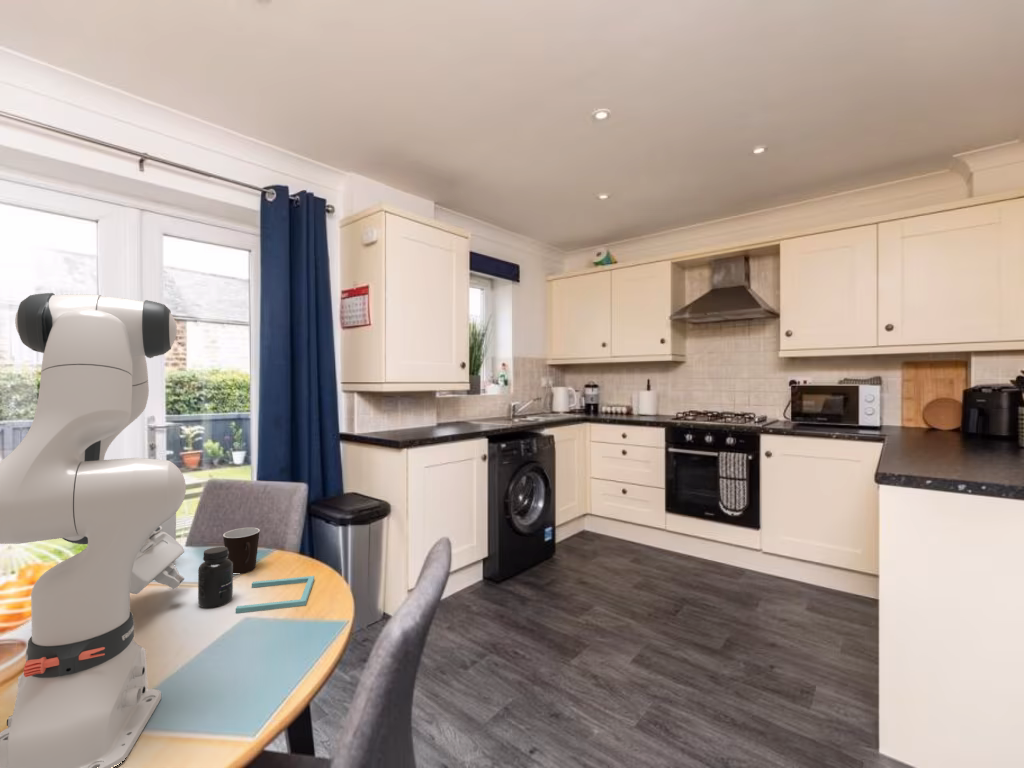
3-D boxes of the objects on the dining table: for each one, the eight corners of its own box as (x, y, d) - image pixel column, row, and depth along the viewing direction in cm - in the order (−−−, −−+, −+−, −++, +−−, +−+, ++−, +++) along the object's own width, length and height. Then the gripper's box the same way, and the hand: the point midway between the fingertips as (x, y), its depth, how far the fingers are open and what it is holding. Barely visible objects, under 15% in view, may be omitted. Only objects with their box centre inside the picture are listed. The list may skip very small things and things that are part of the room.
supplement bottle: (230, 605, 109) (229, 553, 109) (194, 611, 107) (194, 557, 107) (235, 593, 116) (234, 543, 116) (202, 598, 113) (201, 547, 113)
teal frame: (305, 605, 109) (305, 601, 109) (235, 613, 106) (235, 608, 106) (314, 579, 123) (314, 575, 123) (252, 585, 120) (252, 581, 120)
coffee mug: (228, 565, 133) (227, 529, 133) (262, 561, 135) (262, 526, 135) (215, 582, 122) (215, 543, 121) (254, 578, 124) (253, 539, 124)
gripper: (115, 550, 97) (171, 593, 100) (160, 521, 117) (206, 557, 120) (89, 574, 96) (146, 617, 99) (139, 541, 116) (186, 577, 118)
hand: (179, 584), depth 109 cm, fingers closed
